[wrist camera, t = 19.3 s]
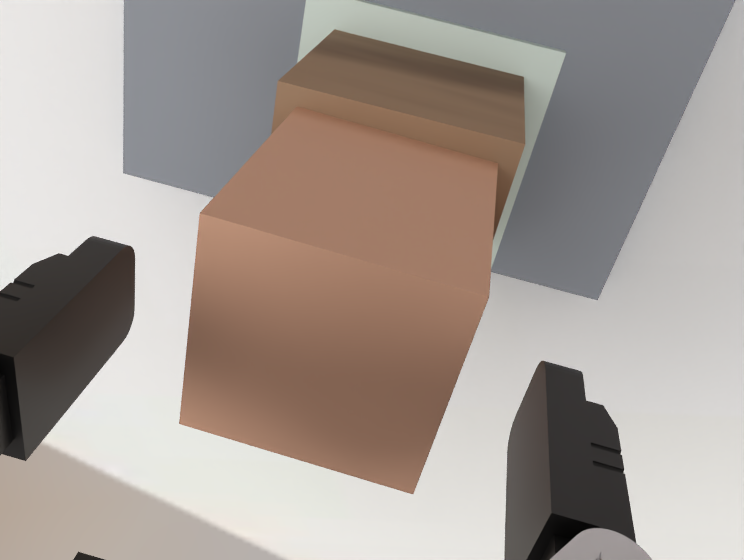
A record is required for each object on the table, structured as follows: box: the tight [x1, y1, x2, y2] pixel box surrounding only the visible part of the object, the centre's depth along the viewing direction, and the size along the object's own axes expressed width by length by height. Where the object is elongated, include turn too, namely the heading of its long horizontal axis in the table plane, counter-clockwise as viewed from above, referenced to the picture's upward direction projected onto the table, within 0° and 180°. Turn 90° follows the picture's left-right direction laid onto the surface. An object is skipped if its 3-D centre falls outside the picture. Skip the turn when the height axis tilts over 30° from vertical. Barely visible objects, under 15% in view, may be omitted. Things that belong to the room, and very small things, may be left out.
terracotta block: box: [179, 107, 498, 494], centre depth 15 cm, size 5×5×6 cm
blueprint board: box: [123, 0, 735, 300], centre depth 22 cm, size 12×18×1 cm, turn 79°
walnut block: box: [271, 29, 525, 239], centre depth 20 cm, size 6×6×6 cm
